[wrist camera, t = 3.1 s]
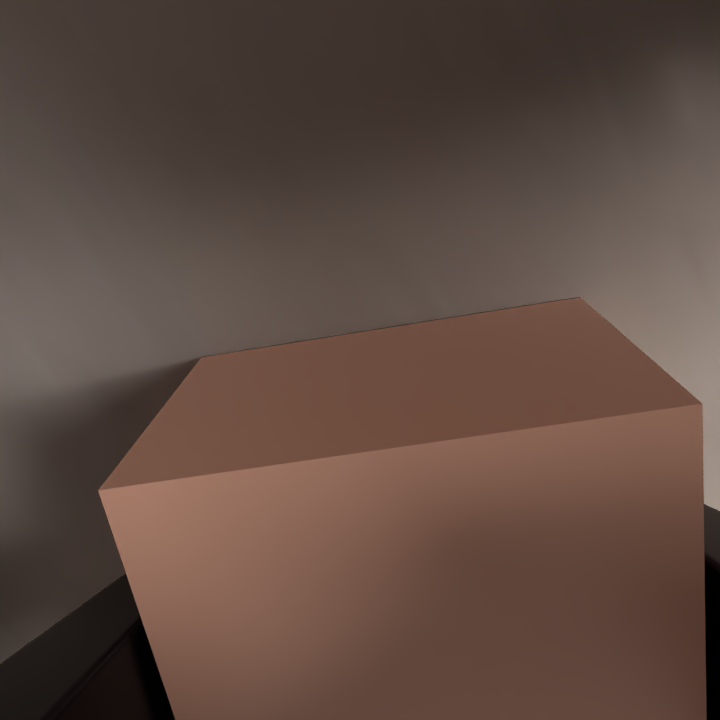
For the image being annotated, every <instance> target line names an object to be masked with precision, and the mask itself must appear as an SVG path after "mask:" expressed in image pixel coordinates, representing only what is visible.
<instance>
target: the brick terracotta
mask: <svg viewBox="0 0 720 720" xmlns="http://www.w3.org/2000/svg"><path fill="white" fill-rule="evenodd" d="M98 492H99V495H100V498H101V501H102V504H103V507H104V510H105V513H106V516H107V519H108V522H109V525H110V527H111V530H112V533H113V536H114V539H115V542H116V545H117V548H118V551H119V554H120V557H121V560H122V563H123V566H124V569H125V572H126V575H127V578H128V581H129V584H130V587H131V590H132V593H133V596H134V599H135V602H136V605H137V608H138V610H139V613H140V616H141V619H142V622H143V625H144V628H145V631H146V634H147V637H148V640H149V643H150V646H151V649H152V652H153V655H154V658H155V661H156V664H157V667H158V670H159V673H160V676H161V679H162V682H163V685H164V688H165V690H166V693H167V696H168V699H169V702H170V705H171V708H172V711H173V714H174V717H175V720H707V712H706V639H705V565H704V492H703V418H702V403H701V402H700V401H699V400H697V399H696V398H695V397H694V396H693V395H692V394H691V393H689V392H688V391H687V390H686V389H685V388H684V387H683V386H681V385H680V384H679V383H678V382H677V381H676V380H674V379H673V378H672V377H671V376H670V375H669V374H668V373H666V372H665V371H664V370H663V369H662V368H661V367H660V366H658V365H657V364H656V363H655V362H654V361H653V360H651V359H650V358H649V357H648V356H647V355H646V354H645V353H643V352H642V351H641V350H640V349H639V348H638V347H637V346H635V345H634V344H633V343H632V342H631V341H630V340H629V339H627V338H626V337H625V336H624V335H623V334H622V333H620V332H619V331H618V330H617V329H616V328H615V327H614V326H612V325H611V324H610V323H609V322H608V321H607V320H606V319H604V318H603V317H602V316H601V315H600V314H599V313H597V312H596V311H595V310H594V309H593V308H592V307H591V306H589V305H588V304H587V303H586V302H585V301H584V300H583V299H581V298H580V297H579V298H573V299H566V300H560V301H554V302H547V303H541V304H535V305H528V306H522V307H516V308H510V309H503V310H497V311H491V312H484V313H478V314H472V315H465V316H459V317H453V318H447V319H440V320H434V321H428V322H421V323H415V324H409V325H402V326H396V327H390V328H384V329H377V330H371V331H365V332H358V333H352V334H346V335H339V336H333V337H327V338H321V339H314V340H308V341H302V342H295V343H289V344H283V345H276V346H270V347H264V348H257V349H251V350H245V351H239V352H232V353H226V354H220V355H213V356H207V357H201V359H200V360H199V361H198V362H197V364H196V365H195V366H194V368H193V369H192V370H191V371H190V373H189V374H188V375H187V377H186V378H185V379H184V380H183V382H182V383H181V384H180V386H179V387H178V388H177V389H176V391H175V392H174V393H173V395H172V396H171V397H170V398H169V400H168V401H167V402H166V404H165V405H164V406H163V407H162V409H161V410H160V411H159V413H158V414H157V415H156V416H155V418H154V419H153V420H152V422H151V423H150V424H149V425H148V427H147V428H146V429H145V431H144V432H143V433H142V434H141V436H140V437H139V438H138V440H137V441H136V442H135V443H134V445H133V446H132V447H131V449H130V450H129V451H128V452H127V454H126V455H125V456H124V458H123V459H122V460H121V461H120V463H119V464H118V465H117V467H116V468H115V469H114V470H113V472H112V473H111V474H110V476H109V477H108V478H107V479H106V481H105V482H104V483H103V485H102V486H101V487H100V488H99V490H98Z"/></svg>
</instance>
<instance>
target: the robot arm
mask: <svg viewBox="0 0 720 720" xmlns="http://www.w3.org/2000/svg"><path fill="white" fill-rule="evenodd" d="M704 565H705V639H706V712H707V720H720V511H718V510H716V509H714V508H711V507H709V506H707V505H705V504H704ZM0 720H175V717H174V714H173V711H172V708H171V705H170V702H169V699H168V696H167V693H166V690H165V688H164V685H163V682H162V679H161V676H160V673H159V670H158V667H157V664H156V661H155V658H154V655H153V652H152V649H151V646H150V643H149V640H148V637H147V634H146V631H145V628H144V625H143V622H142V619H141V616H140V613H139V610H138V608H137V605H136V602H135V599H134V596H133V593H132V590H131V587H130V584H129V581H128V578H127V575H126V574H124V575H123V576H121V577H120V578H119V579H117V580H116V581H114V582H113V583H112V584H110V585H109V586H108V587H106V588H105V589H103V590H102V591H101V592H99V593H98V594H96V595H95V596H94V597H92V598H91V599H90V600H88V601H87V602H85V603H84V604H83V605H81V606H80V607H78V608H77V609H76V610H74V611H73V612H71V613H70V614H69V615H67V616H66V617H65V618H63V619H62V620H60V621H59V622H58V623H56V624H55V625H53V626H52V627H51V628H49V629H48V630H46V631H45V632H44V633H42V634H41V635H40V636H38V637H37V638H35V639H34V640H33V641H31V642H30V643H28V644H27V645H26V646H24V647H23V648H22V649H20V650H19V651H17V652H16V653H15V654H13V655H12V656H10V657H9V658H8V659H6V660H5V661H3V662H2V663H1V664H0Z"/></svg>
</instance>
